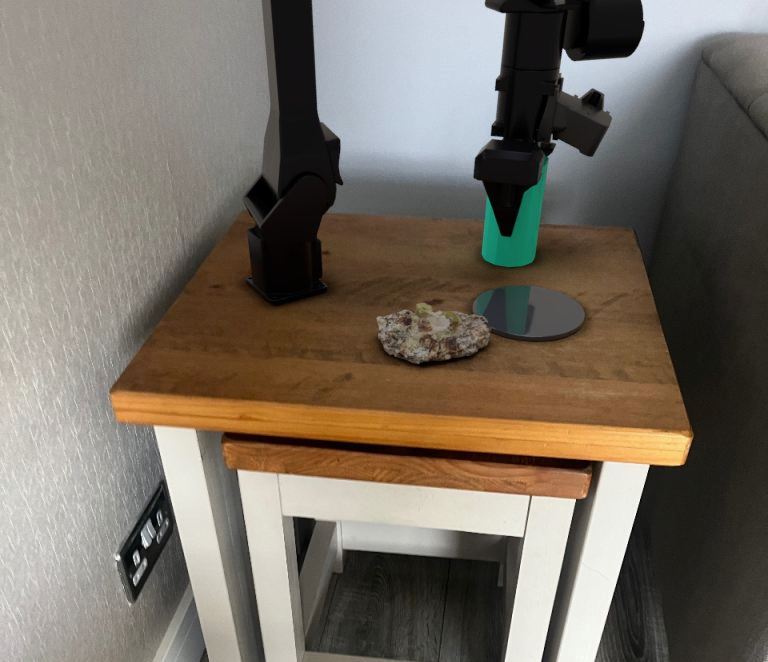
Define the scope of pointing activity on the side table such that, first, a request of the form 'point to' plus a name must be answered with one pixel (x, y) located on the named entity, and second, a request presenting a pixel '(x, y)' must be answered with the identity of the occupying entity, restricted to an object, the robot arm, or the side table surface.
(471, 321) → the mineral rock
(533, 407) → the side table surface
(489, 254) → the candle
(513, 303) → the slate coaster
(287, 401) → the side table surface
